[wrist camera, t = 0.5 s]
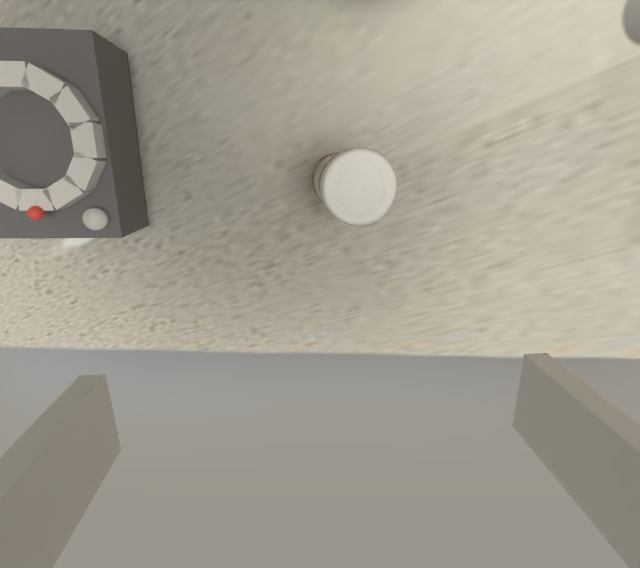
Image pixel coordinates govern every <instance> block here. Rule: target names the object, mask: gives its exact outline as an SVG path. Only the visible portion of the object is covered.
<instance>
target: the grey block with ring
mask: <svg viewBox="0 0 640 568" xmlns="http://www.w3.org/2000/svg"><path fill="white" fill-rule="evenodd" d="M146 226H148V217H147V209H146V201H145V193H144V185H143V177H142V168H141V160H140V152H139V144H138V136H137V128H136V120H135V112H134V104H133V96H132V88H131V79H130V71H129V63H128V55H127V53H126V52H124V51H123V50H121V49H120V48H118V47H117V46H115V45H114V44H112V43H110V42H109V41H107V40H106V39H104V38H103V37H101V36H100V35H98V34H97V33H95V32H94V31H92V30H63V29H29V28H0V238H121V237H124V236H126V235H129V234H131V233H133V232H135V231H137V230H139V229H142V228H144V227H146Z"/></svg>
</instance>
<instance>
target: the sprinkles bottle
mask: <svg viewBox="0 0 640 568" xmlns="http://www.w3.org/2000/svg"><path fill="white" fill-rule="evenodd" d="M312 185H313V188H314V190H315V193H316V194H317V195H318V197H319V198H320V199H321V200H322V201H323V202H324V204H325V206H326V207H327V209H328V210H329V211H330V212H331V213H332V214H333V215H334V216H335V217H336V218H338V219H339V220H341V221H343V222H345V223H347V224H351V225H365V224H369V223H372V222H374V221H376V220H378V219H380V218H381V217H382V216H383V215H384V214H385V213H386V212H387V211H388V210H389V208H390V207H391V205H392V203H393V201H394V198H395V195H396V188H397V183H396V177H395V173H394V170H393V168H392V166H391V165H390V163H389V162H388V161H387V159H385V158H384V157H383V156H382V155H381V154H379V153H377V152H375V151H373V150H370V149H362V148H359V149H350V150H346V151H344V152H341V153H337V154H336V153H335V154H330V155H327V156H325V157H323V158H322V159H321V160H320V161H319V162H318V163H317V164H316V166H315V168H314V170H313V173H312Z"/></svg>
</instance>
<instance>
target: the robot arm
mask: <svg viewBox="0 0 640 568" xmlns="http://www.w3.org/2000/svg"><path fill="white" fill-rule="evenodd" d="M512 426H513V427H514V428H515V430H516V431H517V432H518V433H519V434H520V436H521V437H522V438H523V439H524V440H525V442H526V443H527V444H528V445H529V447H530V448H531V449H532V450H533V451H534V452H535V454H536V455H537V456H538V457H539V459H540V460H541V461H542V462H543V463H544V465H545V466H546V467H547V468H548V470H549V471H550V472H551V473H552V474H553V476H554V477H555V478H556V479H557V480H558V482H559V483H560V484H561V485H562V486H563V488H564V489H565V490H566V491H567V493H568V494H569V495H570V496H571V497H572V499H573V500H574V501H575V502H576V503H577V505H578V506H579V507H580V508H581V509H582V511H583V512H584V513H585V514H586V516H587V517H588V518H589V519H590V520H591V522H592V523H593V524H594V525H595V526H596V528H597V529H598V530H599V531H600V533H601V534H602V535H603V536H604V537H605V539H606V540H607V541H608V542H609V543H610V544H611V546H612V547H613V548H614V550H615V551H616V552H617V553H618V554H619V556H620V557H621V558H622V559H623V560H624V562H625V563H626V564H627V565H628V566H629V568H640V424H639V423H637V422H636V421H635V420H633V419H632V418H631V417H629V416H628V415H627V414H625V413H624V412H623V411H622V410H620V409H619V408H617V407H616V406H615V405H614V404H612V403H611V402H610V401H609V400H607V399H606V398H605V397H603V396H602V395H601V394H599V393H598V392H597V391H596V390H594V389H593V388H592V387H590V386H589V385H588V384H586V383H585V382H584V381H582V380H581V379H580V378H578V377H577V376H576V375H575V374H573V373H572V372H571V371H569V370H568V369H567V368H566V367H564V366H563V365H562V364H560V363H559V362H558V361H556V360H555V359H554V358H552V357H551V356H550V355H549V354H547V353H541V354H524V358H523V365H522V371H521V377H520V383H519V389H518V395H517V401H516V407H515V413H514V419H513V425H512ZM120 450H121V447H120V442H119V437H118V432H117V428H116V423H115V418H114V413H113V408H112V403H111V398H110V394H109V389H108V384H107V379H106V375H84V376H79V377H78V378H77V379H76V380H75V381H74V382H73V383H72V384H71V385H70V386H69V387H68V388H67V389H66V390H65V391H64V392H63V393H62V394H61V395H60V397H58V399H57V400H55V402H54V403H53V404H52V405H51V406H50V407H49V408H48V409H47V410H46V411H45V412H44V413H43V414H42V415H41V416H40V417H39V418H38V419H37V420H36V421H35V422H34V423H33V425H31V426H30V427H29V429H28V430H27V431H26V432H25V433H24V434H23V435H22V436H21V437H20V438H19V439H18V440H17V441H16V442H15V443H14V444H13V445H12V446H11V447H10V448H9V449H8V450H7V451H6V452H5V453H4V455H3V456H2V457H1V458H0V568H53V566H54V564H55V563H56V561H57V559H58V558H59V556H60V554H61V552H62V551H63V549H64V547H65V545H66V544H67V542H68V540H69V539H70V537H71V535H72V533H73V532H74V530H75V528H76V526H77V525H78V523H79V521H80V519H81V518H82V516H83V514H84V513H85V511H86V509H87V507H88V506H89V504H90V502H91V500H92V499H93V497H94V495H95V493H96V492H97V490H98V488H99V487H100V485H101V483H102V481H103V480H104V478H105V476H106V474H107V473H108V471H109V469H110V468H111V466H112V464H113V462H114V461H115V459H116V457H117V455H118V454H119V452H120Z"/></svg>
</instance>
